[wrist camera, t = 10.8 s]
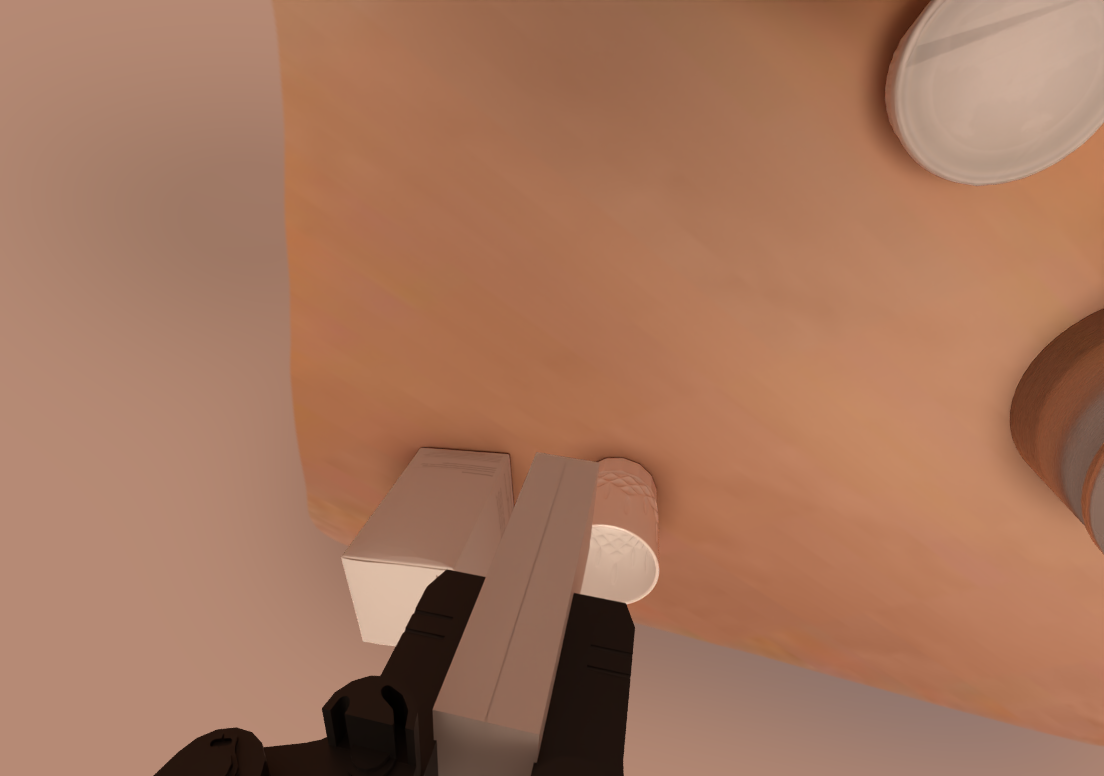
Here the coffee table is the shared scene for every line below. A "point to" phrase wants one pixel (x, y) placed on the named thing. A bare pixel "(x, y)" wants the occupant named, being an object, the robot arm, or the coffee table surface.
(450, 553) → the supplement box
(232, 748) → the robot arm
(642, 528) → the white cup
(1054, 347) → the pot
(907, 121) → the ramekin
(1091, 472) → the lid
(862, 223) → the coffee table surface
